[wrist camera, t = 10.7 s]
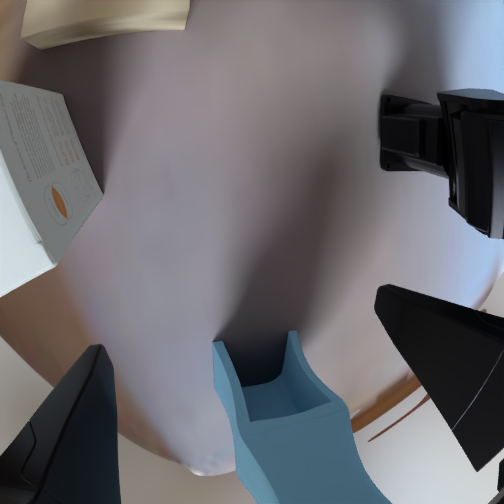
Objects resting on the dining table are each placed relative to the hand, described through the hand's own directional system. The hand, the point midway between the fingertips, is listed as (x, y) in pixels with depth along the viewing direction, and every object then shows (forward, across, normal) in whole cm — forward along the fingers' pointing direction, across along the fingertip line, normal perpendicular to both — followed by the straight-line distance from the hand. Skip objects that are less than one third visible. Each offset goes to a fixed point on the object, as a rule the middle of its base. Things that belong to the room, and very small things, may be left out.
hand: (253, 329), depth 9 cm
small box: (+13, +10, -5) cm, 17 cm away
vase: (+13, -3, +16) cm, 21 cm away
